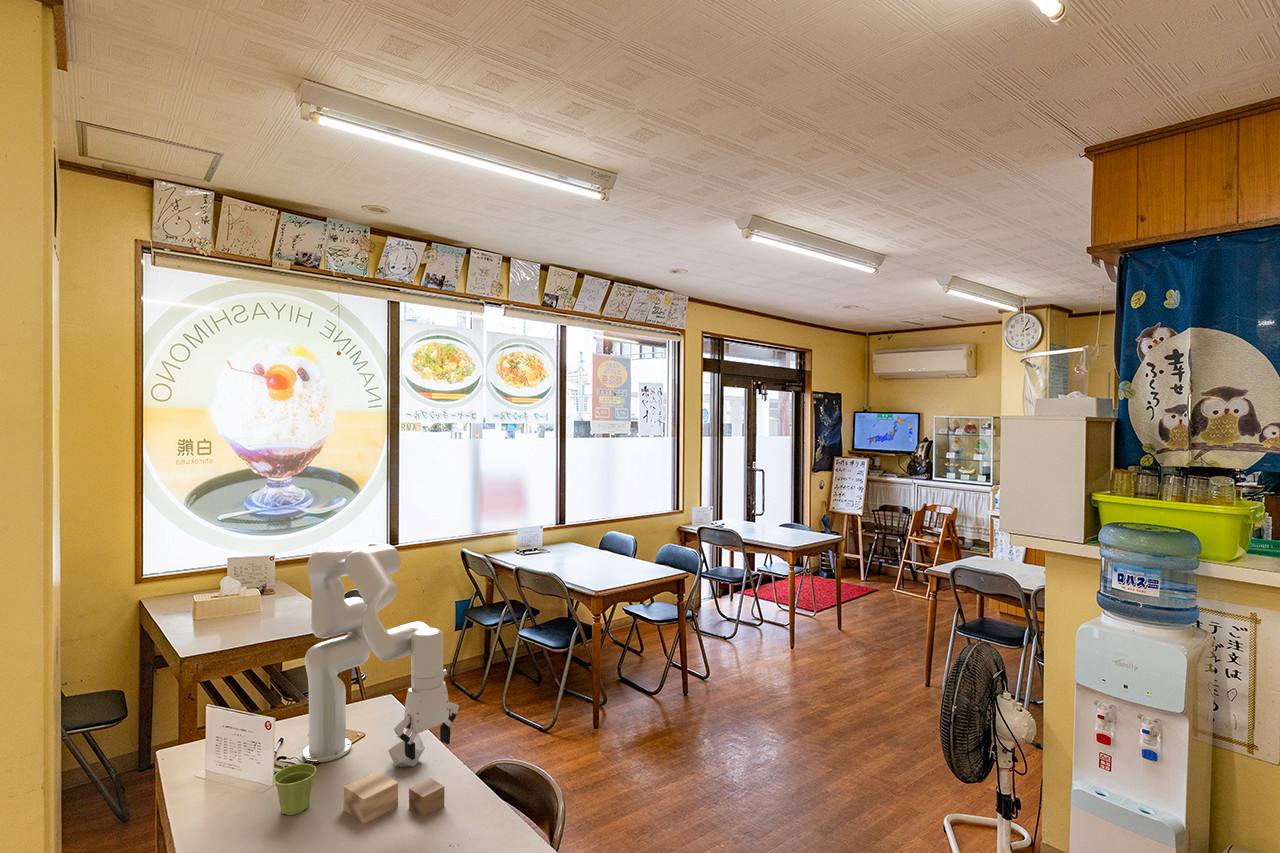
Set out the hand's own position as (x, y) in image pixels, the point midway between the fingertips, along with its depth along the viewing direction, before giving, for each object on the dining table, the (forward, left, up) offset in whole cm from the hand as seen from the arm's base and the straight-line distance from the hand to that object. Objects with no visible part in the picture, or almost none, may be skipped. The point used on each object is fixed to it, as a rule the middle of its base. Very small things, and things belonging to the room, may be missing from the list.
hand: (428, 750), depth 162 cm
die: (-22, +8, -14) cm, 28 cm away
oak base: (-10, -9, -14) cm, 20 cm away
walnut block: (0, 0, -14) cm, 14 cm away
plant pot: (-24, -21, -14) cm, 35 cm away
